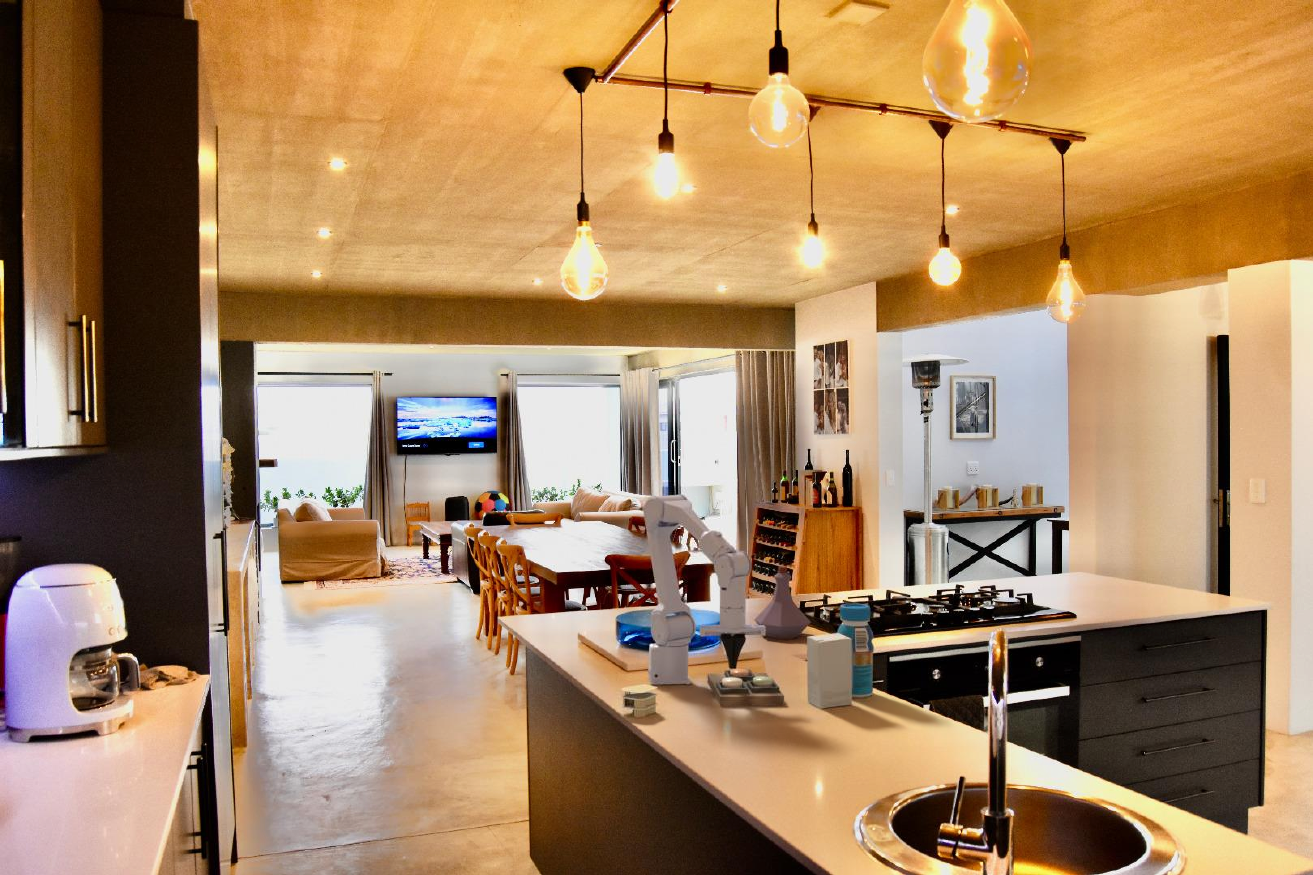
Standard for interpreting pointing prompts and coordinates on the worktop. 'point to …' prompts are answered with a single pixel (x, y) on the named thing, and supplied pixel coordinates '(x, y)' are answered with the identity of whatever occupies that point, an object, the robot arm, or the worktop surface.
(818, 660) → the skincare box
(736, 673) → the terracotta button
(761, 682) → the sage button
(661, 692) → the worktop surface
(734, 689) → the button board
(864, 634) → the beverage bottle
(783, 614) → the flask
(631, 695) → the beige layered block
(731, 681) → the cream button
